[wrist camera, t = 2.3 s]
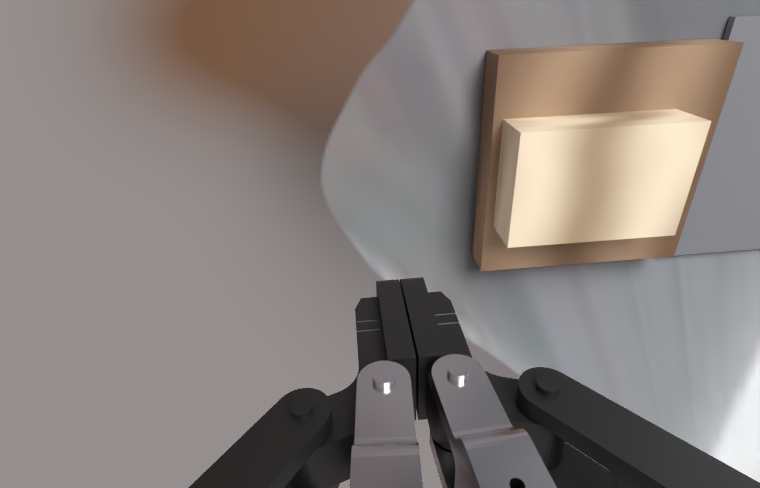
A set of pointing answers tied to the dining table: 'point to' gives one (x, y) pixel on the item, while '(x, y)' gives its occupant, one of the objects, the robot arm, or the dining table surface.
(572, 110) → the block
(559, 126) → the beech tile
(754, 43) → the charcoal mat
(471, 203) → the dining table surface
